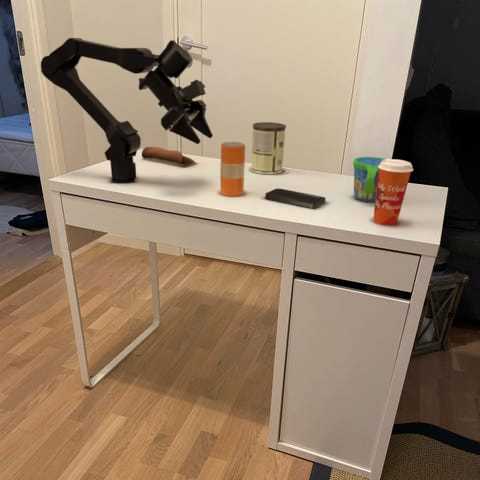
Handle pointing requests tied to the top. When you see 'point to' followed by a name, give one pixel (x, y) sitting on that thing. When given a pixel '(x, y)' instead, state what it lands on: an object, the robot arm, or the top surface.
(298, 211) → the top surface
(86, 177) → the top surface
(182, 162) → the brown elongated rounded bar
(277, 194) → the phone
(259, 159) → the coffee can
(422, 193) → the top surface
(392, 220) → the paper cup
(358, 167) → the snack cup
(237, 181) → the juice can
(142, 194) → the top surface
